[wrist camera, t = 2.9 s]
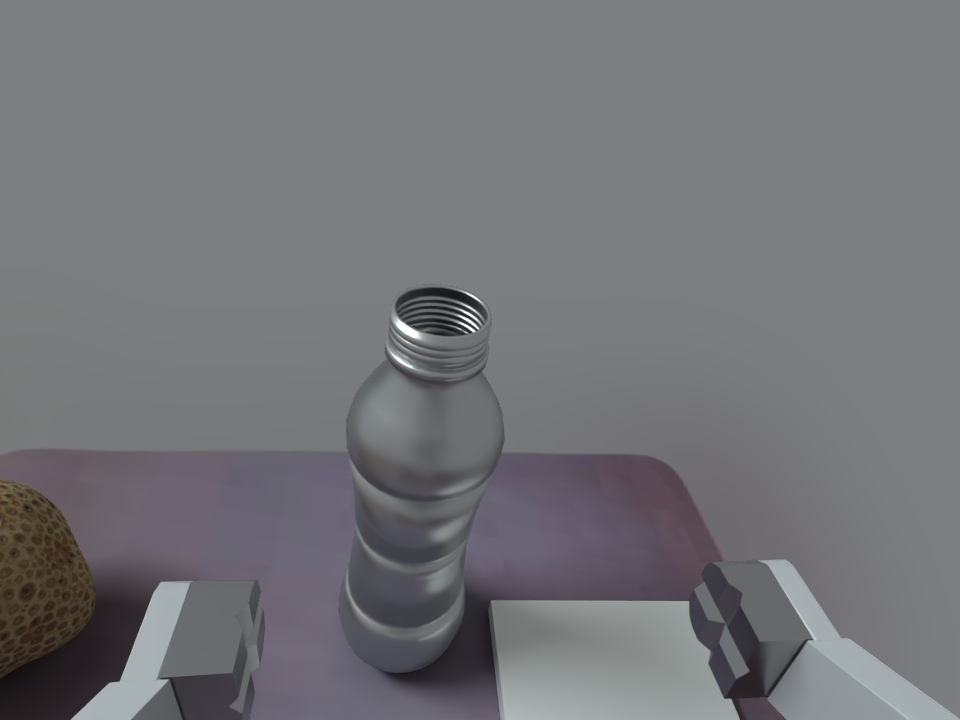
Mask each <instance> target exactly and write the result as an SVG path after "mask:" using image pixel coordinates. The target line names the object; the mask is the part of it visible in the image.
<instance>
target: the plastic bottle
mask: <svg viewBox="0 0 960 720" xmlns="http://www.w3.org/2000/svg"><path fill="white" fill-rule="evenodd" d="M490 329H491V312H490V309H489V307H488V306H487V305H486V303H485V302H483V300H481V299H480V298H479V297H477V296H476V295H474V294H472V293H470V292H468V291H466V290H463V289H460V288H456V287H453V286H447V285H440V284H423V285H417V286H413V287H409V288H407V289H405V290H403V291H401V292H400V293H398V294H397V295H396V296H395V298H394V299H393V302H392V305H391V309H390V319H389V329H388V331H387V333H386V337H385V354H386V357H387V359H386V360H385V361H383V362H382V363H381V364H380V365H379V366H378V367H377V368H376V369H375V370H374V371H373V372H372V373H371V374H370V375H369V376H368V377H367V378H366V380H365V381H364V382H363V383H362V384H361V385H360V387H359V389H358V390H357V392H356V394H355V396H354V398H353V401H352V403H351V405H350V408H349V411H348V414H347V418H346V438H347V449H348V456H349V462H350V469H351V475H352V481H353V488H354V494H355V534H354V540H353V545H352V551H351V557H350V561H349V563H348V565H347V568H346V570H345V574H344V578H343V582H342V586H341V590H340V594H339V614H340V619H341V623H342V627H343V631H344V634H345V637H346V639H347V641H348V644H349V646H350V647H351V648H352V650H353V651H354V652H355V654H356V655H357V656H358V657H359V658H361V659H362V660H363V661H364V662H365V663H367V664H369V665H371V666H372V667H374V668H376V669H379V670H383V671H386V672H393V673H405V672H412V671H415V670H419V669H422V668H424V667H426V666H428V665H429V664H431V663H433V662H434V661H435V660H437V659H438V658H439V657H440V656H441V655H442V654H443V653H444V652H445V650H446V649H447V648H448V646H449V645H450V643H451V642H452V640H453V638H454V637H455V635H456V633H457V631H458V629H459V627H460V625H461V623H462V619H463V615H464V606H465V579H464V566H465V555H466V545H467V540H468V537H469V533H470V530H471V527H472V524H473V521H474V517H475V514H476V511H477V508H478V506H479V503H480V501H481V499H482V497H483V495H484V492H485V490H486V488H487V486H488V483H489V481H490V479H491V477H492V475H493V472H494V470H495V468H496V466H497V463H498V460H499V457H500V454H501V451H502V448H503V444H504V439H505V436H504V423H503V415H502V410H501V407H500V403H499V401H498V399H497V397H496V395H495V393H494V391H493V389H492V387H491V385H490V384H489V382H488V380H487V378H486V377H485V375H484V374H483V373H482V370H483V369H484V368H485V366H486V363H487V360H488V354H489V345H488V340H489V334H490Z"/></svg>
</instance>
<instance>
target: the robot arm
mask: <svg viewBox="0 0 960 720" xmlns="http://www.w3.org/2000/svg"><path fill="white" fill-rule="evenodd" d="M701 576H702V578H703V580H704V582H703V583H702V584H701V585H699V586H698V587H696V588H695V589H694V590H693V593H692V595H691V598H690V600H689V616H690V620H691V624H692V628H693V630H694V632H695V635H696V637H697V639H698V641H699V642H701V643H702V644H703V645H704V646H705V647H706V648H708V649H709V650H710V651H711V652H710V656H709V661H708V664H709V666H710V669H711V671H712V673H713V675H714V677H715V680H716V682H717V684H718V686H719V689H720V691H721V693H722V695H723V697H724V699H735V698H758V697H768V699H767V700H768V701H769V702H770V703H771V704H772V705H773V706H774V707H775V708H776V709H777V710H778V711H779V712H780V713H781V714H782V715H783V716H784V717H785V718H786V719H787V720H960V719H959V718H958V717H956V716H955V715H953V714H952V713H951V712H949V711H948V710H947V709H945V708H944V707H942V706H941V705H940V704H938V703H937V702H936V701H934V700H933V699H931V698H930V697H929V696H927V695H926V694H925V693H923V692H922V691H921V690H919V689H917V688H916V687H915V686H914V685H912V684H911V683H910V682H908V681H907V680H905V679H904V678H903V677H901V676H900V675H899V674H897V673H895V672H894V671H893V670H892V669H890V668H889V667H887V666H886V665H885V664H883V663H882V662H881V661H879V660H878V659H876V658H875V657H874V656H872V655H871V654H870V653H868V652H867V651H865V650H864V649H863V648H861V647H860V646H858V645H857V644H856V643H854V642H853V641H852V640H850V639H849V638H843V639H842V638H841V637H840V636H839V634H838V633H837V631H836V630H835V628H834V627H833V625H832V624H831V622H830V621H829V619H828V618H827V616H826V615H825V613H824V611H823V610H822V608H821V607H820V606H819V604H818V602H817V601H816V600H815V598H814V597H813V595H812V593H811V592H810V590H809V589H808V587H807V586H806V584H805V583H804V581H803V580H802V578H801V577H800V575H799V574H798V572H797V571H796V569H795V568H794V566H793V565H792V564H791V563H789V562H788V561H787V560H764V561H758V560H746V561H727V562H711V563H709V564H708V565H706V566H705V567H704V569H703V571H702V573H701ZM259 597H260V587H259V582H258V580H226V581H176V582H161V583H160V584H159V586H158V587H157V588H156V590H155V591H154V593H153V596H152V598H151V601H150V603H149V606H148V609H147V611H146V614H145V617H144V619H143V622H142V625H141V627H140V630H139V632H138V635H137V638H136V640H135V643H134V646H133V648H132V651H131V654H130V656H129V659H128V661H127V664H126V667H125V669H124V672H123V675H122V677H121V680H120V682H110V683H109V684H108V685H107V686H105V687H104V688H103V689H102V690H101V691H100V692H99V693H98V694H97V695H96V696H95V697H94V698H93V699H92V700H91V701H90V702H89V703H88V704H87V705H86V706H85V707H83V708H82V709H81V710H80V711H79V712H78V713H77V714H76V715H75V716H74V717H73V718H72V719H71V720H250V715H251V710H252V704H253V699H254V694H255V691H254V685H253V679H252V674H253V673H254V672H255V670H256V669H257V668H258V667H259V666H260V662H261V656H262V650H263V642H264V631H265V625H264V611H263V608H262V607H261V606H259V605H258V602H259Z"/></svg>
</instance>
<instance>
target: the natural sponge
mask: <svg viewBox="0 0 960 720" xmlns="http://www.w3.org/2000/svg"><path fill="white" fill-rule="evenodd" d="M95 600H96V598H95V588H94V584H93V579H92V576H91V573H90V570H89V568H88V565H87V563H86V561H85V559H84V557H83V555H82V553H81V551H80V549H79V547H78V545H77V543H76V541H75V538H74V536H73V534H72V532H71V530H70V528H69V526H68V524H67V522H66V520H65V518H64V517H63V515H62V513H61V511H60V510H59V509H58V508H57V507H56V506H55V505H54V504H53V503H52V502H50V501H49V500H48V499H47V498H45V497H44V496H43V495H41V494H40V493H38V492H37V491H35V490H33V489H32V488H30V487H28V486H25V485H22V484H19V483H16V482H11V481H5V480H2V479H0V678H2V677H3V676H5V675H7V674H9V673H10V672H12V671H14V670H15V669H17V668H18V667H20V666H22V665H24V664H26V663H28V662H31V661H33V660H35V659H37V658H39V657H41V656H44V655H46V654H48V653H50V652H51V651H53V650H55V649H57V648H59V647H61V646H62V645H64V644H65V643H67V642H68V641H69V640H71V639H72V638H73V637H74V636H76V635H77V634H78V633H79V632H80V631H82V630H83V628H84V627H85V626H86V625H87V623H88V622H89V621H90V619H91V617H92V615H93V613H94V608H95Z"/></svg>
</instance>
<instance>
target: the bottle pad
mask: <svg viewBox="0 0 960 720" xmlns="http://www.w3.org/2000/svg"><path fill="white" fill-rule="evenodd" d="M488 614H489V623H490V632H491V641H492V649H493V658H494V667H495V676H496V685H497V694H498V703H499V712H500V720H740V719H739V716H738V714H737V711H736V709H735V707H734V704H733V702H732V699H724V697H723V695H722V693H721V691H720V689H719V686H718V684H717V682H716V680H715V677H714V675H713V673H712V671H711V669H710V666H709V664H708V661H709V656H710V652H711V651H710V650H709V649H708V648H706V647H705V646H704V645H703V644H702V643H701V642H699V641H698V639H697V637H696V635H695V632H694V630H693V628H692V624H691V620H690V616H689V601H555V600H491V602H490V606H489V609H488Z"/></svg>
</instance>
